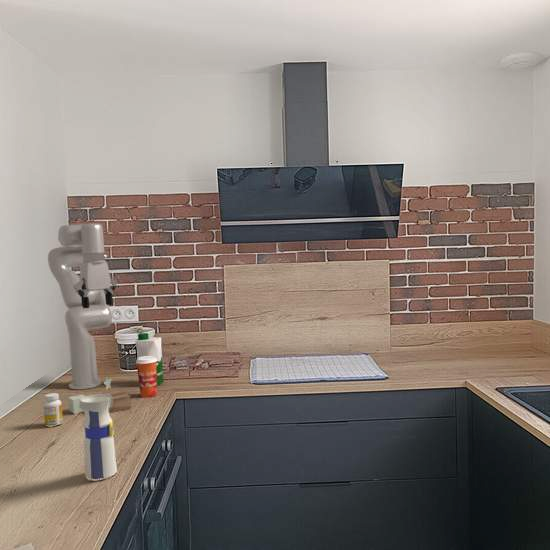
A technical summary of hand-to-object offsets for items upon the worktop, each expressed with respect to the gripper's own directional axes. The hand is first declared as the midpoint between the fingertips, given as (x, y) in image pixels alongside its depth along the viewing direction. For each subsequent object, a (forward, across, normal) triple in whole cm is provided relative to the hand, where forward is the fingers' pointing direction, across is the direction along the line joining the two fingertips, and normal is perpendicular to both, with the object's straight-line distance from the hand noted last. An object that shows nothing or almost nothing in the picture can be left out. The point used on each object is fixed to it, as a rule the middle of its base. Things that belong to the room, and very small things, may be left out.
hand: (97, 306), depth 220 cm
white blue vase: (+36, +42, +58) cm, 80 cm away
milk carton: (+34, -24, -3) cm, 41 cm away
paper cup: (+34, -12, +10) cm, 38 cm away
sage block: (+34, +13, +4) cm, 37 cm away
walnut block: (+35, +6, +12) cm, 37 cm away
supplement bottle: (+35, +26, +10) cm, 44 cm away
